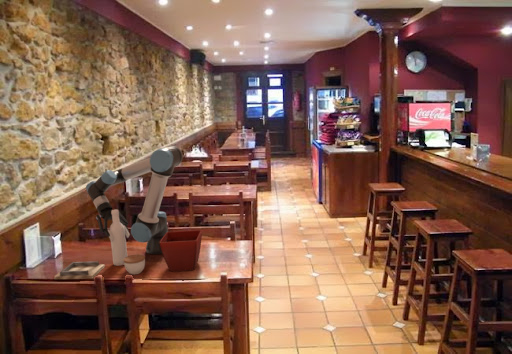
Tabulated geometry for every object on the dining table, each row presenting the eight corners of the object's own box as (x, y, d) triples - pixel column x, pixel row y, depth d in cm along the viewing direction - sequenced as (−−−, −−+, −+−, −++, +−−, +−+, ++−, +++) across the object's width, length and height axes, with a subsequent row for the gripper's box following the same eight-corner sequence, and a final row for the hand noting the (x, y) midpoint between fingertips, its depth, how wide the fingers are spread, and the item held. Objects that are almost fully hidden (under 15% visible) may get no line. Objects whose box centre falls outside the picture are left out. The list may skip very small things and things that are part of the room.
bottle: (131, 261, 264) (125, 208, 259) (122, 266, 257) (116, 212, 251) (118, 260, 266) (112, 208, 261) (110, 265, 259) (103, 211, 254)
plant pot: (169, 261, 260) (166, 231, 257) (204, 259, 260) (202, 229, 257) (161, 274, 241) (158, 242, 239) (199, 272, 241) (196, 240, 238)
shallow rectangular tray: (104, 266, 257) (104, 260, 257) (92, 278, 241) (91, 271, 241) (69, 267, 259) (68, 261, 258) (54, 279, 243) (53, 272, 243)
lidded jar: (127, 269, 252) (125, 252, 250) (147, 267, 252) (145, 250, 251) (123, 277, 241) (121, 259, 239) (144, 275, 242) (142, 257, 240)
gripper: (118, 205, 275) (136, 237, 266) (82, 213, 260) (100, 247, 251) (122, 197, 270) (140, 229, 262) (86, 205, 255) (104, 239, 247)
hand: (120, 238), depth 257 cm, fingers open, 9 cm apart
